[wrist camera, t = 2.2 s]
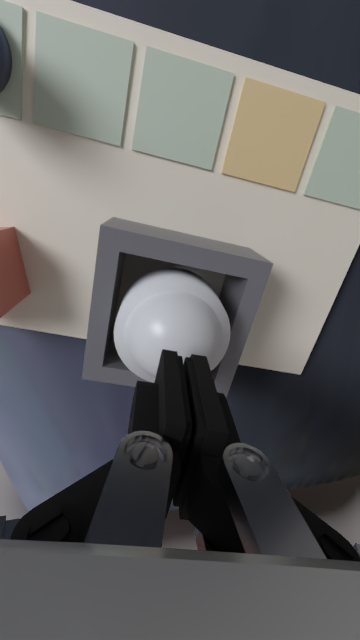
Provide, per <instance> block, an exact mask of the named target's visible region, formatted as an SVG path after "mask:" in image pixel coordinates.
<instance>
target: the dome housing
mask: <svg viewBox="0 0 360 640" xmlns="http://www.w3.org/2000/svg"><path fill="white" fill-rule="evenodd" d="M125 253H128V254H133V255H137V256H142V257H147V258H152V259H156V260H161V261H166V262H170V263H175V264H180V265H185V266H189V267H194V268H199V269H204V270H208V271H213V272H218V273H222V274H226V275H225V279H224V282H223V286H222V289H221V292H220V296H219V300H220V302H221V303H222V305H223V307H224V309H225V311H226V313H227V316H228V318H229V323H230V341H229V345H228V348H227V351H226V353H225V355H224V357H223V358H222V360H221V361H220V362H219V364H218V365H217V366H216V367H215V368H214V369H213V370H212V371H211V373H212V376H213V380H214V383H215V387H216V390H217V392H218V393H223V394H224V395H225V397H226V398H227V395H228V392H229V389H230V386H231V383H232V380H233V378H234V375H235V372H236V369H237V366H238V363H239V360H240V358H241V355H242V352H243V349H244V346H245V343H246V340H247V338H248V335H249V332H250V329H251V326H252V323H253V321H254V318H255V315H256V312H257V309H258V306H259V303H260V301H261V298H262V295H263V292H264V289H265V286H266V283H267V281H268V278H269V275H270V272H271V269H272V266H273V263H272V262H270V261H269V260H267V259H266V258H264V257H263V256H261V255H260V254H258V253H257V252H255V251H254V250H252V249H251V248H248V247H243V246H239V245H235V244H230V243H226V242H222V241H217V240H213V239H208V238H204V237H200V236H195V235H191V234H186V233H182V232H178V231H173V230H169V229H164V228H160V227H156V226H151V225H147V224H142V223H138V222H134V221H129V220H125V219H121V218H116V217H112V218H111V219H109V220H107V221H106V222H104V223H103V224H101V225H100V231H99V239H98V248H97V256H96V264H95V273H94V281H93V289H92V298H91V306H90V314H89V323H88V331H87V339H86V348H85V356H84V364H83V373H82V379H85V380H92V381H99V382H105V383H112V384H119V385H126V386H133V387H136V383H137V380H138V381H145V382H149V381H147V380H144V379H142V378H140V377H139V376H137V375H136V374H134V373H133V372H132V371H130V370H129V369H128V368H127V366H126V365H125V364H124V363H123V361H122V360H121V358H120V357H119V355H118V352H117V350H116V347H115V342H114V333H113V329H114V323H115V316H116V310H117V303H118V297H119V291H120V284H121V278H122V271H123V265H124V259H125ZM151 383H152V382H151Z"/></svg>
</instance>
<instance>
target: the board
mask: <svg viewBox="0 0 360 640" xmlns="http://www.w3.org/2000/svg"><path fill="white" fill-rule="evenodd" d="M0 27H1V28H2V30H3V31H4V33H5V36H6V38H7V40H8V43H9V46H10V50H11V55H12V71H11V76H10V79H9V82H8V84H7V85H6V87H5V88H4V90H3V91H2V92H1V93H0V227H15V231H16V235H17V239H18V243H19V247H20V251H21V255H22V259H23V263H24V267H25V271H26V275H27V279H28V283H29V287H30V291H31V293H30V294H29V295H28V296H27V297H26V298H24V299H23V300H22V301H21V302H19V303H18V304H17V305H16V306H15V307H13V308H12V309H11V310H10V311H9V312H7V313H6V314H5V315H4V316H2V317H1V318H0V325H5V326H11V327H17V328H23V329H29V330H35V331H41V332H47V333H53V334H59V335H65V336H71V337H77V338H83V339H87V331H88V323H89V314H90V306H91V298H92V289H93V281H94V273H95V264H96V256H97V248H98V239H99V231H100V225H101V224H103V223H104V222H106V221H107V220H109V219H111V218H112V217H116V218H121V219H125V220H129V221H134V222H138V223H142V224H147V225H151V226H156V227H160V228H164V229H169V230H173V231H178V232H182V233H186V234H191V235H195V236H200V237H204V238H208V239H213V240H217V241H222V242H226V243H230V244H235V245H239V246H243V247H248V248H251V249H252V250H254V251H255V252H257V253H258V254H260V255H261V256H263V257H264V258H266V259H267V260H269V261H270V262H272V263H273V266H272V269H271V272H270V275H269V278H268V281H267V283H266V286H265V289H264V292H263V295H262V298H261V301H260V303H259V306H258V309H257V312H256V315H255V318H254V321H253V323H252V326H251V329H250V332H249V335H248V338H247V340H246V343H245V346H244V349H243V352H242V355H241V358H240V360H239V363H238V364H239V365H245V366H251V367H257V368H263V369H269V370H275V371H281V372H287V373H293V374H299V375H301V373H302V371H303V369H304V367H305V364H306V362H307V360H308V358H309V355H310V353H311V351H312V349H313V347H314V344H315V342H316V340H317V338H318V335H319V333H320V331H321V329H322V327H323V324H324V322H325V320H326V318H327V316H328V313H329V311H330V309H331V307H332V304H333V302H334V300H335V298H336V296H337V293H338V291H339V289H340V287H341V284H342V282H343V280H344V278H345V276H346V273H347V271H348V269H349V267H350V265H351V262H352V260H353V258H354V256H355V253H356V251H357V249H358V247H359V245H360V95H359V94H356V93H353V92H350V91H347V90H344V89H341V88H338V87H335V86H332V85H329V84H325V83H322V82H319V81H316V80H313V79H310V78H307V77H304V76H301V75H298V74H295V73H292V72H289V71H286V70H282V69H279V68H276V67H273V66H270V65H267V64H264V63H261V62H258V61H255V60H252V59H249V58H246V57H243V56H239V55H236V54H233V53H230V52H227V51H224V50H221V49H218V48H215V47H212V46H209V45H206V44H203V43H200V42H197V41H193V40H190V39H187V38H184V37H181V36H178V35H175V34H172V33H169V32H166V31H163V30H160V29H157V28H154V27H150V26H147V25H144V24H141V23H138V22H135V21H132V20H129V19H126V18H123V17H120V16H117V15H114V14H111V13H108V12H104V11H101V10H98V9H95V8H92V7H89V6H86V5H83V4H80V3H77V2H74V1H71V0H0ZM161 268H182V269H186V270H189V271H191V272H194V273H196V274H198V275H199V276H201V277H202V278H204V279H205V280H206V281H207V282H208V283H209V284H210V285H211V286H212V288H213V289H214V291H215V292H216V294H217V296H218V298H219V296H220V292H221V289H222V286H223V282H224V279H225V275H226V274H222V273H218V272H213V271H208V270H204V269H199V268H194V267H189V266H185V265H180V264H175V263H170V262H166V261H161V260H156V259H152V258H147V257H142V256H137V255H133V254H128V253H125V259H124V265H123V271H122V278H121V284H120V291H119V297H118V303H117V310H116V316H115V321H116V318H117V315H118V312H119V309H120V306H121V303H122V300H123V297H124V295H125V293H126V292H127V290H128V289H129V287H130V286H131V285H132V284H133V283H134V282H135V281H136V280H137V279H138V278H140V277H141V276H143V275H145V274H146V273H148V272H151V271H153V270H157V269H161ZM114 326H115V323H114ZM113 333H114V329H113Z"/></svg>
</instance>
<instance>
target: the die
mask: <svg viewBox="0 0 360 640" xmlns="http://www.w3.org/2000/svg"><path fill="white" fill-rule="evenodd" d="M30 293H31V291H30V287H29V283H28V279H27V275H26V271H25V267H24V263H23V259H22V255H21V251H20V247H19V243H18V239H17V235H16V231H15V227H0V318H1V317H2V316H4V315H5V314H6V313H7V312H9V311H10V310H11V309H12V308H13V307H15V306H16V305H17V304H18V303H19V302H21V301H22V300H23V299H24V298H26V297H27V296H28V295H29V294H30Z"/></svg>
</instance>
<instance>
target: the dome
mask: <svg viewBox="0 0 360 640" xmlns="http://www.w3.org/2000/svg"><path fill="white" fill-rule="evenodd" d="M229 341H230V323H229V318H228V316H227V313H226V311H225V309H224V307H223V305H222V303H221V302H220V300H219V298H218V296H217V294H216V292H215V291H214V289H213V288H212V286H211V285H210V284H209V283H208V282H207V281H206V280H205V279H204V278H202V277H201V276H199V275H198V274H196V273H194V272H191V271H189V270H186V269H182V268H161V269H157V270H153V271H151V272H148V273H146V274H145V275H143V276H141V277H140V278H138V279H137V280H136V281H135V282H134V283H133V284H132V285H131V286H130V287H129V289H128V290H127V292H126V293H125V295H124V297H123V300H122V303H121V306H120V309H119V312H118V315H117V318H116V321H115V326H114V342H115V347H116V350H117V352H118V355H119V357H120V358H121V360H122V361H123V363H124V364H125V365H126V366H127V368H128V369H129V370H130V371H132V372H133V373H134V374H136V375H137V376H139V377H140V378H142V379H144V380H147V381H149V382H152V383H154V382H155V378H156V374H157V369H158V365H159V361H160V356H161V352H162V349H165V350H171V351H177V353H178V356H182V359H183V364H184V360H185V358H186V357H190V356H191V355H192V354H195V355H201V356H206V357H207V360H208V363H209V366H210V370H211V371H212V370H213V369H214V368H215V367H216V366H217V365H218V364H219V362H220V361H221V360H222V358H223V357H224V355H225V353H226V351H227V348H228V345H229Z"/></svg>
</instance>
